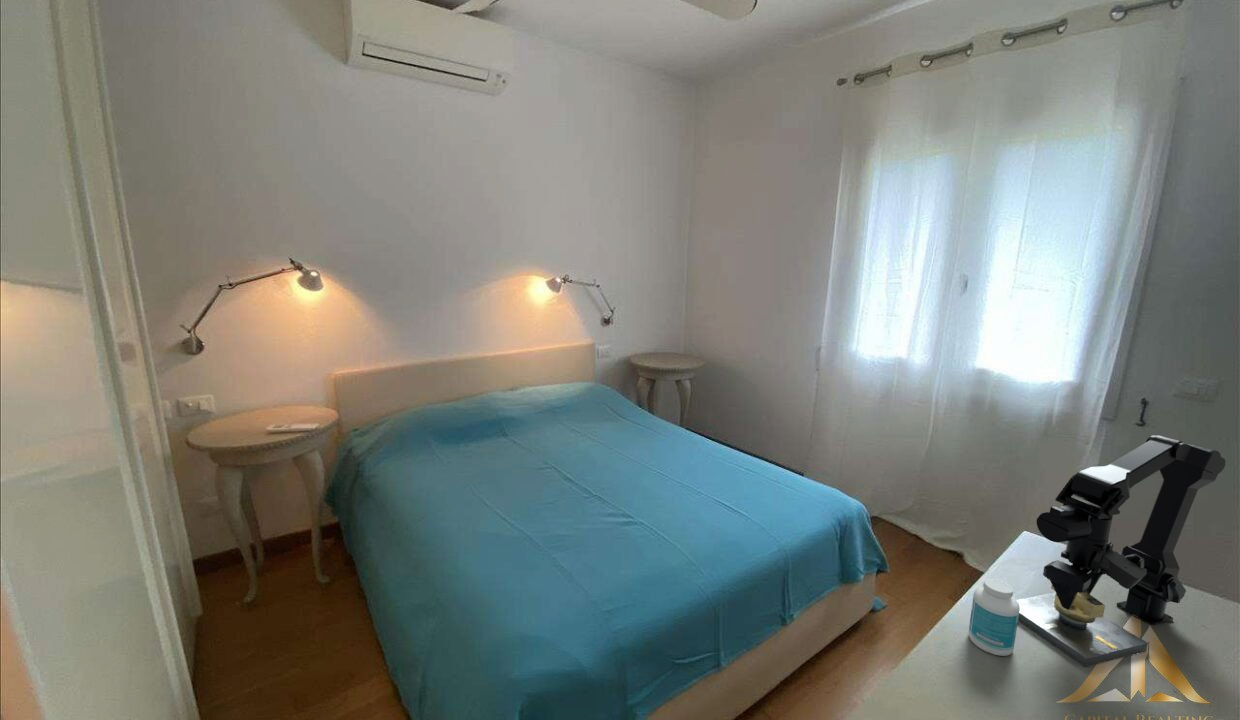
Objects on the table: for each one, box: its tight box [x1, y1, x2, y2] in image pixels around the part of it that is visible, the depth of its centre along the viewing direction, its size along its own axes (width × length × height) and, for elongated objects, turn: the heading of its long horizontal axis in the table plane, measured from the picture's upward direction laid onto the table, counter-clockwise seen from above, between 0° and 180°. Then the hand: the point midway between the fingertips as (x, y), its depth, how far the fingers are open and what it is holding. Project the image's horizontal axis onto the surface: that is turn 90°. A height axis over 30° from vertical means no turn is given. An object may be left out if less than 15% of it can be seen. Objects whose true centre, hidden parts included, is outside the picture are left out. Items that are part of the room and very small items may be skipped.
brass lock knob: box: [1050, 584, 1106, 623], centre depth 100 cm, size 9×6×5 cm
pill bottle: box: [968, 577, 1020, 657], centre depth 97 cm, size 8×7×14 cm
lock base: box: [1016, 591, 1149, 668], centre depth 101 cm, size 16×16×4 cm
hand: (1076, 601), depth 100 cm, fingers open, 9 cm apart
